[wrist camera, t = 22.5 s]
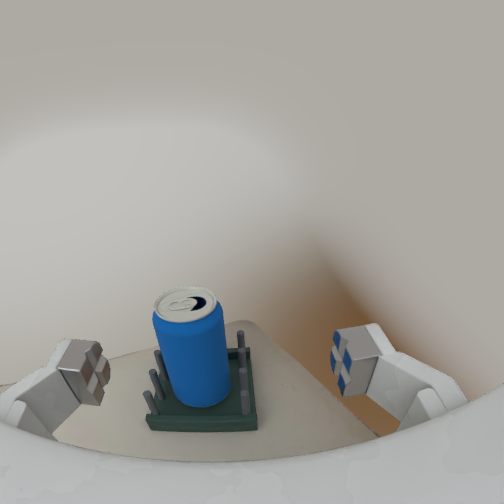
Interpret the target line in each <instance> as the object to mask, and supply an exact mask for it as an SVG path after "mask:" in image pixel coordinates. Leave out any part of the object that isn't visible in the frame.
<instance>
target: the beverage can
mask: <svg viewBox="0 0 504 504" xmlns="http://www.w3.org/2000/svg"><path fill="white" fill-rule="evenodd" d="M154 309H155V311H154V313H153V325H154V328H155V332H156V336H157V339H158V343H159V346H160V350H161V353H162V356H163V360H164V363H165V366H166V369H167V373H168V376H169V379H170V382H171V385H172V388H173V391H174V393H175V395H176V397H177V398H178V399H179V400H180V401H181V402H182V403H184V404H186V405H189V406H192V407H208V406H212V405H215V404H217V403H219V402H220V401H222V400H223V399H224V398H225V397H226V396H227V395H228V393H229V391H230V388H231V380H230V372H229V363H228V355H227V346H226V337H225V328H224V320H223V310H222V307H221V305H220V303H219V302H218V301H217V299H216V296H215V294H214V293H213V292H212V291H211V290H209V289H206V288H204V287H199V286H183V287H178V288H174V289H171V290H169V291H167V292H165V293H163V294H162V295H161V296H159V297H158V298H157V300H156V301H155V304H154Z"/></svg>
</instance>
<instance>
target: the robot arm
mask: <svg viewBox="0 0 504 504" xmlns="http://www.w3.org/2000/svg"><path fill="white" fill-rule="evenodd" d="M333 341H334V343H335V345H334V346H333V348H332V349H331V355H330V361H331V367H332V371H333V374H334V375H336V376H337V377H339V379H338V383H337V384H338V386H339V389H340V392H341V394H342V397H343V398H345V397H350V396H356V395H361V394H366V395H367V396H368V397H369V398H371V399H372V400H373V401H375V402H376V403H377V404H379V405H380V406H381V407H382V408H384V409H385V410H386V411H388V412H389V413H390V414H391V415H393V416H394V417H395V418H397V419H398V420H399V421H401V423H400V425H399V427H398V429H397V430H396V432H395V433H392V434H390V435H386V436H383V437H379V438H376V439H372V440H369V441H365V442H361V443H357V444H353V445H349V446H345V447H341V448H336V449H331V450H326V451H321V452H316V453H310V454H304V455H297V456H290V457H282V458H274V459H264V460H251V461H232V462H186V461H168V460H156V459H146V458H137V457H130V456H123V455H116V454H111V453H105V452H100V451H95V450H90V449H86V448H81V447H77V446H73V445H69V444H65V443H62V442H58V440H57V439H56V438H55V437H54V436H53V435H52V433H53V432H54V431H55V430H56V429H57V428H58V427H59V426H60V425H61V424H62V423H63V422H64V421H65V420H66V419H67V418H68V417H69V416H70V415H71V414H72V413H73V412H74V411H75V410H76V409H77V408H78V407H79V406H80V405H81V404H87V405H96V406H100V404H101V401H102V399H103V396H104V393H105V392H104V390H103V387H104V386H105V385H107V384H108V382H109V379H110V366H109V363H108V360H107V359H106V358H105V357H104V356H103V355H102V354H101V353H102V351H103V350H102V347H101V345H100V343H99V342H97V341H86V340H72V339H63V340H61V341H60V343H59V344H58V346H57V348H56V349H55V351H54V353H53V354H52V356H51V358H50V359H49V361H48V362H47V364H46V366H45V367H43V366H42V367H40V368H39V369H37V370H36V371H34V372H33V373H31V374H30V375H28V376H27V377H25V378H23V379H22V380H20V381H19V382H17V383H16V384H14V385H13V386H11V387H10V388H8V389H7V390H5V391H3V392H2V393H1V394H0V504H504V383H503V384H502V385H500V386H498V387H497V388H495V389H493V390H491V391H490V392H488V393H486V394H484V395H482V396H480V397H478V398H476V399H475V400H473V401H471V402H469V401H468V399H467V397H466V396H465V394H464V393H463V392H462V390H461V389H460V387H459V386H458V384H457V383H456V381H455V380H454V378H452V377H450V376H448V375H446V374H444V373H442V372H440V371H438V370H436V369H434V368H432V367H430V366H428V365H426V364H424V363H422V362H420V361H418V360H416V359H414V358H412V357H410V356H408V355H406V354H404V353H402V352H396V351H395V349H394V348H393V346H392V345H391V343H390V342H389V340H388V338H387V337H386V335H385V334H384V332H383V331H382V330H381V328H380V327H379V325H378V324H376V323H373V324H368V325H363V326H358V327H351V328H345V329H338V330H335V332H334V335H333Z"/></svg>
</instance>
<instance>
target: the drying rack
mask: <svg viewBox="0 0 504 504" xmlns="http://www.w3.org/2000/svg"><path fill="white" fill-rule="evenodd" d="M237 340H238V348H229V349H227V355H228V363H229V372H230V380H231V388H230V391H229V393H228V395H227V396H226V397H225V398H224V399H223V400H222V401H220V402H219V403H217V404H215V405H212V406H208V407H192V406H189V405H186V404H184V403H182V402H181V401H180V400H179V399H178V398H177V397H176V395H175V393H174V391H173V388H172V385H171V382H170V379H169V376H168V373H167V369H166V366H165V363H164V360H163V356H162V353H161V351H160V350H155V351H154V355H155V358H156V361H157V364H158V367H159V370H160V374H159V378H158V375H157V372H156V370H155V369H151V370H149V375H150V377H151V380H152V382H153V385H154V388H155V390H156V392H155V397H154V398H153V396H152V394H151V392H150V391H145V392H144V393H143V395H144V397H145V400H146V402H147V404H148V406H149V408H150V410H151V414H147V415H146V421H147V423H148V425H149V427H150V429H151V430H158V431H176V432H233V431H251V430H257V414H256V408H255V398H254V389H253V379H252V369H251V359H250V347H247V348H245V341H244V332H243V331H241V330H240V331H238V332H237Z"/></svg>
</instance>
